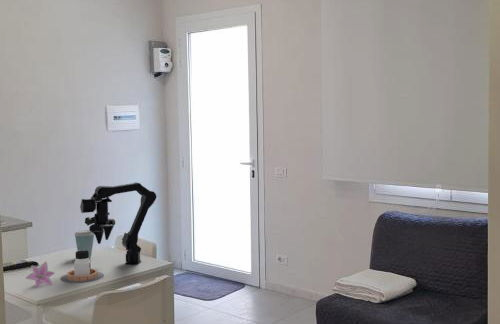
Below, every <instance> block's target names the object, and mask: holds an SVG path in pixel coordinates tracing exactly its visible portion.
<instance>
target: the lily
mask: <svg viewBox="0 0 500 324" xmlns="http://www.w3.org/2000/svg"><path fill="white" fill-rule="evenodd" d="M30 267H31V270H32V272H31V273H29V274H28V275H26V276H25V279H26V280H29V281H35V288H39V287H40V286H41V285H42V284H44V285H46V286H53V282H52V279H51V277H52V276H53V275H55V274H56V273H55V272H54V271H50V270H49V267H48V262H47V261H44V262H43V263H42V264H40V266H39V267H37V266H36V265H31V266H30Z"/></svg>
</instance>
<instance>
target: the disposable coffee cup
mask: <svg viewBox="0 0 500 324" xmlns="http://www.w3.org/2000/svg"><path fill="white" fill-rule="evenodd" d="M74 237H75V244H76V249H77V250H76V252H77V251H79V250H87V251H88V252H89V259H91V258H92V253H93V247H94V245H93V244H94V240H95V239H94V238H95V234H94V233H93V232H91V231H89V229H83V230H77V231H75V232H74Z"/></svg>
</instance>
